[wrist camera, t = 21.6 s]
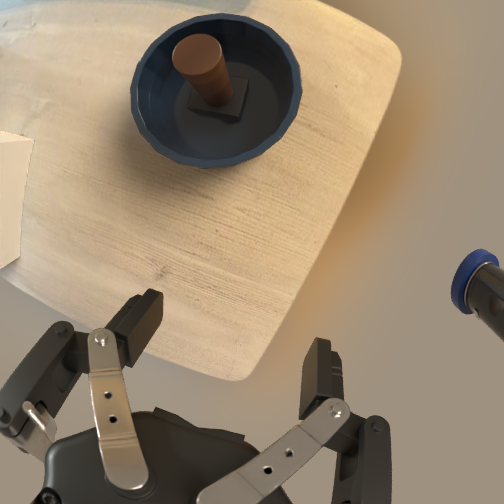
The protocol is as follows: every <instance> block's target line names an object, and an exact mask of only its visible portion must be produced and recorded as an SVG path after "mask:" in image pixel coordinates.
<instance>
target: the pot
mask: <svg viewBox="0 0 504 504" xmlns="http://www.w3.org/2000/svg"><path fill="white" fill-rule="evenodd" d="M195 34H206V35H209V36H212V37H214V38H215V39H216V40H217V41H218V42H219V44H220V46H221V49H222V52H223V56H224V60H225V63H226V67H227V71H228V74H229V75H231V76H236V77H242V78H246V79H249V88H248V92H247V96H246V99H245V103H244V107H243V111H242V115H241V118H240V121H237V120H233V119H228V118H223V117H217V116H212V115H206V114H200V113H194V112H192V111H191V110H189V109H188V108H187V106H188V102H189V98H190V95H191V91H192V86H191V84H190V83H189V82H188V81H187V80H186V79H185V78H184V77H183V76H182V74H181V73H180V72H179V71H178V70H177V69H176V68H175V66H174V64H173V61H172V55H173V51H174V49H175V47H176V46H177V44H178V43H179V42H180V41H182V40H183V39H184V38H186V37H188V36H191V35H195ZM302 92H303V89H302V80H301V70H300V65H299V63H298V61H297V59H296V57H295V55H294V53H293V51H292V49H291V47H290V46H289V45H288V43H287V42H286V41H285V40H283V39H282V38H281V37H280V36H279V35H278V34H277V33H276V32H275V31H274V30H273V29H272V28H270V27H268V26H266V25H264V24H262V23H260V22H258V21H256V20H254V19H251V18H249V17H246V16H240V15H233V14H225V13H217V14H210V15H203V16H196V17H194V18H191V19H189V20H186V21H184V22H182V23H180V24H177V25H175V26H173V27H171V28H170V29H168V30H167V31H166V32H165V33H163V34H162V35H161V36H160V37H158V38H157V39H156V40H155V41H154V42H153V43H152V44H151V45H150V46H149V48H148V49H147V50H146V52H145V53H144V55H143V56H142V58H141V59H140V61H139V62H138V64H137V67H136V70H135V73H134V76H133V80H132V83H131V88H130V93H131V112H132V114H133V117H134V119H135V122H136V124H137V127H138V129H139V132H140V133H141V135H142V136H143V137H144V138H145V139H146V140H147V141H148V142H149V144H150V145H151V146H152V147H153V148H154V149H155V150H156V151H157V152H159V153H160V154H162V155H164V156H166V157H168V158H169V159H171V160H173V161H175V162H177V163H179V164H183V165H188V166H193V167H198V168H203V169H210V168H220V167H230V166H235V165H238V164H240V163H242V162H245V161H247V160H250V159H252V158H255V157H257V156H259V155H261V154H262V153H264V152H265V151H266V150H267V149H269V148H270V147H271V146H272V145H274V144H275V143H276V142H277V141H279V140H280V139H281V138H282V137H283V135H284V134H285V132H286V131H287V129H288V128H289V126H290V125H291V123H292V122H293V120H294V119H295V117H296V115H297V112H298V108H299V104H300V100H301V96H302Z"/></svg>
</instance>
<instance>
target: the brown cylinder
mask: <svg viewBox="0 0 504 504" xmlns="http://www.w3.org/2000/svg"><path fill="white" fill-rule="evenodd" d="M172 61H173V64H174V66H175V68H176V69H177V70H178V71H179V72H180V73H181V74H182V76H183V77H184V78H185V79H186V80H187V81H188V82H189V83H190V84H191V86H192V91H191V95H190V98H189V102H188V106H187V108H188V109H189V110H191V111H192V112H194V113H200V114H206V115H212V116H217V117H223V118H228V119H233V120H237V121H240V118H241V115H242V111H243V107H244V103H245V99H246V96H247V92H248V88H249V79H246V78H242V77H236V76H231V75H229V74H228V71H227V67H226V63H225V60H224V56H223V52H222V49H221V46H220V44H219V42H218V41H217V40H216V39H215V38H214V37H212V36H209V35H206V34H195V35H191V36H188V37H186V38H184V39H183V40H182V41H180V42H179V43H178V44H177V46H176V47H175V49H174V51H173V55H172Z"/></svg>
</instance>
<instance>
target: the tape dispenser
mask: <svg viewBox="0 0 504 504" xmlns="http://www.w3.org/2000/svg"><path fill="white" fill-rule="evenodd" d="M34 141H35V140H33V139H30V138H27V137H23V136H20V135H17V134H13V133H10V132H6V131H0V269H1V268H3V267H4V266H6V265H7V264H9V263H11V262H12V261H14V260H15V259H17V258H19V257H20V240H21V223H22V212H23V202H24V194H25V187H26V181H27V175H28V169H29V164H30V159H31V154H32V150H33V145H34Z"/></svg>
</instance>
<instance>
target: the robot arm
mask: <svg viewBox="0 0 504 504" xmlns="http://www.w3.org/2000/svg"><path fill="white" fill-rule="evenodd" d="M463 301H464V304H465V306H466V307H467V308H468V309H470V310H471V311H472V312H473V313H474V314H475V316H476V317H477V318H478V319H479V318H480V319H481V320H482V321H483V322H484V323H485V324H486V325H488V327H489V328H490V329H491V330H492V331H493V332H494V333H495V334H496V335H497V336H499V337H500V339H501V340H502V341H503V342H504V270H503V269H501V268H500V267H498V266H497V265H495V264H494V263H493V262H491V261H484V262H482V263H480V264H479V265H478V266H477V267H476V268H475V269H474V270H473V271H472V273H471V274H470V276H469V278H468V280H467V282H466V285H465V288H464V293H463ZM162 317H163V293H162V292H159V291H156V290H153V289H151V288H149V289H148V290H147V291H146V292H145V293H144V294H143V296H141V295H139V294H137V295H135V296H134V297H132V298H130V299H129V300H128V301H127V302H126V303H125V304H124V306H123V307H122V308H121V309H120V311H118V313H117V314H116V315H115V316H114V317H113V318H112V320H111V321H110V322H109V323H108V324H107V325H106V327H105V328H99V329H95V330H93V331H92V332H91V333H83V332H77V331H74V327H73V326H72V324H70V323H69V322H66V321H59V322H56V323H54V324H53V325H52V326H51V327H50V328H49V329H48V330H47V331H46V333H45V334H44V335H43V336H42V337H41V338H40V340H39V341H38V342H37V343H36V344H35V346H34V347H33V348H32V349H31V351H30V352H29V353H28V354H27V355H26V357H25V358H24V359H23V361H22V362H21V363H20V364H19V366H18V367H17V368H16V369H15V371H14V372H13V373H12V375H11V376H10V377H9V379H8V380H7V382H6V383H5V384H4V386H3V387H2V388H1V390H0V433H1V434H2V435H3V436H4V437H5V438H6V439H8V440H9V441H10V442H11V443H12V444H13V445H15V446H16V447H18V448H19V449H20V450H21V451H23V452H24V453H28V454H31V455H32V456H34V457H35V458H37V459H38V460H40V461H41V462H42V463H44V465H45V477H44V484H43V487H42V490H41V492H40V493H39V494H38V495H37V497H36V498H35V499H34V500H33V501H32V502H31V503H30V504H293V503H292V502H291V501H290V499H289V497H288V496H287V494H286V493H285V491H284V490H283V488H282V486H281V484H282V483H284V482H285V481H286V480H287V479H289V478H290V477H291V476H292V475H293V474H294V473H295V472H297V471H298V469H300V468H301V467H302V466H303V465H304V464H305V463H306V462H308V461H309V459H311V458H312V457H313V456H314V455H315V454H316V453H317V452H318V451H319V450H320V449H321V448H322V447H323V446H324V447H327V448H329V449H331V450H334V451H336V452H337V459H336V470H335V479H334V487H333V495H332V502H331V504H391V492H392V462H391V437H390V426H389V424H388V422H387V421H386V420H385V419H384V418H383V417H381V416H376V415H374V416H370V417H369V418H367V419H365V418H363V417H360V416H358V415H356V414H353V413H352V412H351V411H350V408H349V406H348V405H347V403H345V401H344V392H343V377H342V362H341V359H340V357H339V355H338V353H337V352H334V351H331V342H330V340H326V339H322V338H317V337H316V338H315V339H314V341H313V343H312V345H311V347H310V349H309V351H308V353H307V355H306V357H305V359H304V363H303V368H302V383H301V396H300V408H299V420H304V421H302V422H301V423H300V424H299V425H296V426H295V427H293V428H292V429H291V430H289V431H288V432H287V433H286V434H285V435H283V436H282V437H281V438H280V439H278V440H277V441H276V442H274V443H273V444H272V445H271V446H269V447H268V448H267V449H265V450H264V451H263V452H261V453H260V452H259V451H258V450H257V449H256V448H255V447H253V446H252V445H251V444H249V443H247V442H245V441H244V437H245V435H242V434H238V433H234V432H230V431H226V430H221V429H208V428H198V427H196V426H194V425H192V424H190V423H189V422H187V421H186V420H184V419H183V418H181V417H179V416H178V415H176V414H173V413H170V412H168V411H165V410H163V409H160V408H157V407H156V408H155V409H154V411H153V412H150V411H139V412H133V413H132V412H131V409H130V405H129V401H128V396H127V392H126V388H125V384H124V379H123V374H122V369H123V368H124V366H125V365H126V366H128V367H131V368H132V367H133V366H134V364H135V362H136V361H137V359H138V357H139V356H140V355H141V353H142V352H143V350H144V349H145V347H146V345H147V344H148V342H149V341H150V339H151V338H152V336H153V335H154V333H155V332H156V330H157V329H158V327H159V326H160V324H161V321H162ZM82 373H86V374H88V377H89V386H90V394H91V401H92V407H93V413H94V419H95V425H96V427H94V428H91V429H89V430H86V431H83V432H80V433H78V434H74V435H72V436H69V437H66V438H62V439H60V440H57V441H56V442H55V434H56V431H57V426H56V423H55V421H54V418H55V416H56V415H57V413H58V411H59V410H60V408H61V406H62V405H63V403H64V401H65V400H66V398H67V396H68V395H69V393H70V392H71V390H72V388H73V387H74V385H75V384H76V382H77V380H78V379H79V377H80V376H81V374H82Z"/></svg>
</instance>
